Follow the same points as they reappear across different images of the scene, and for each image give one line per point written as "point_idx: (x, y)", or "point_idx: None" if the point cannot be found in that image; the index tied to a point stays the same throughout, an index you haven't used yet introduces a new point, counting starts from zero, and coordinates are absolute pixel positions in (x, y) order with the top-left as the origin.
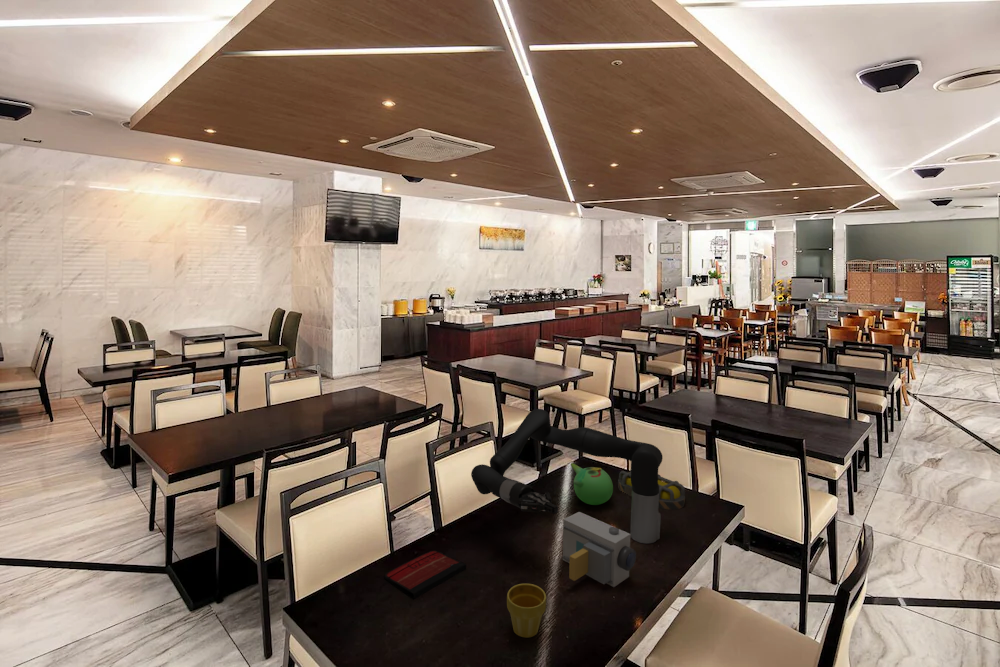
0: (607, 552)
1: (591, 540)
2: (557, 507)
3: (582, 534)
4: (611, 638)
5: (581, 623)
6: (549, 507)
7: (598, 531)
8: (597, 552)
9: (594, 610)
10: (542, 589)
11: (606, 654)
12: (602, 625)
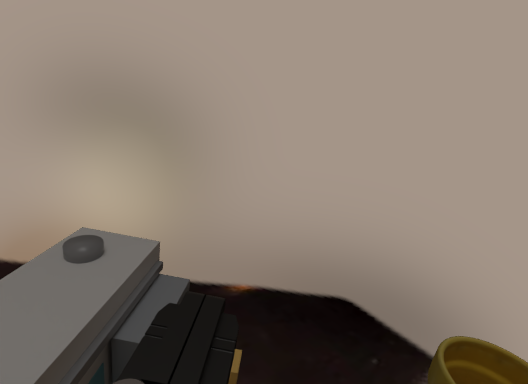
0: (166, 279)
1: (119, 322)
2: (192, 294)
3: (81, 361)
4: (309, 304)
5: (322, 355)
6: (227, 341)
7: (90, 285)
8: (179, 298)
9: (267, 350)
10: (440, 361)
11: (342, 300)
12: (294, 324)
